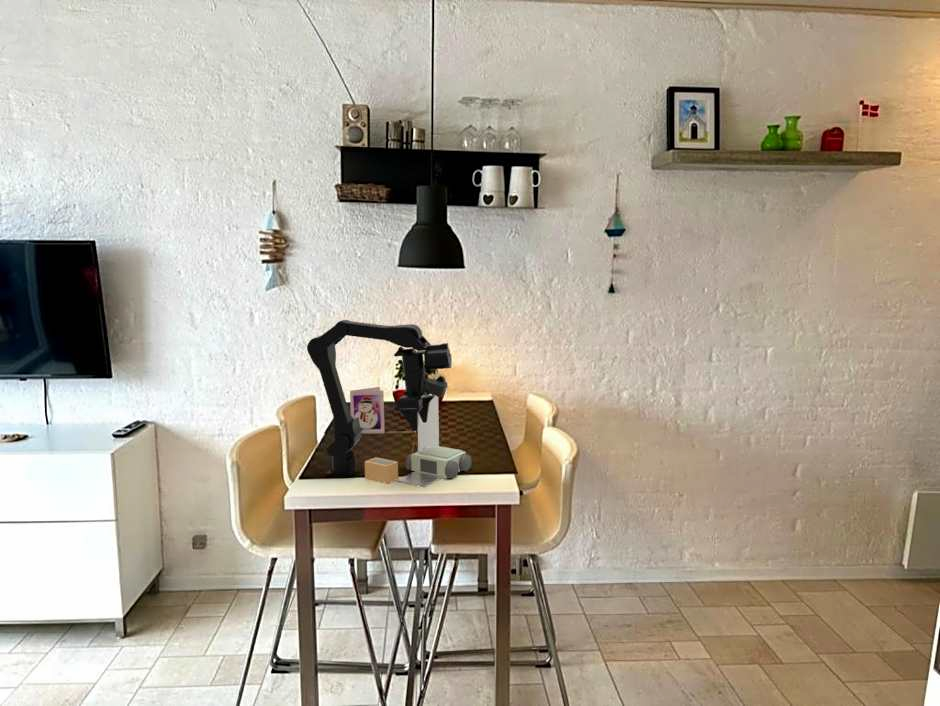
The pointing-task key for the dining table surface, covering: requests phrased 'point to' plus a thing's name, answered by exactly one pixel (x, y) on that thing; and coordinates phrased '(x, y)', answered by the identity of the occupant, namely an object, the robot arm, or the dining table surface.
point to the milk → (429, 427)
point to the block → (381, 470)
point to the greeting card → (368, 409)
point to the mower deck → (439, 461)
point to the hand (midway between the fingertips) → (420, 426)
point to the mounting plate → (419, 478)
